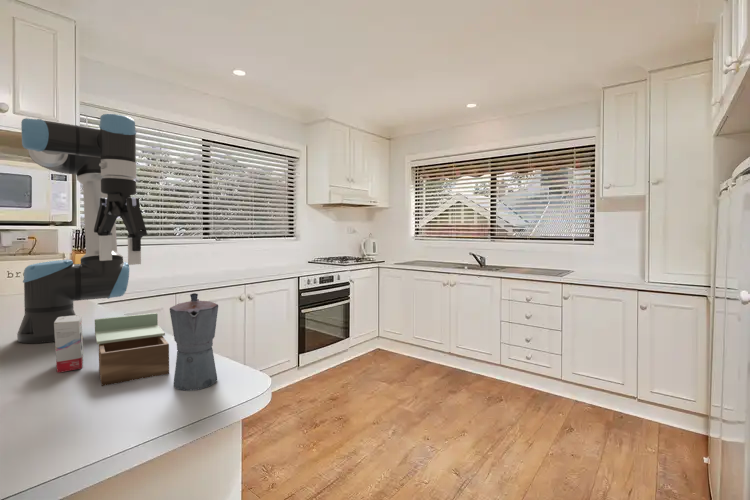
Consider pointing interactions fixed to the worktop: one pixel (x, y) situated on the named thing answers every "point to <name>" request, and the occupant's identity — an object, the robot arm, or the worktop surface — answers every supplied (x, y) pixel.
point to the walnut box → (133, 360)
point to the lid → (127, 328)
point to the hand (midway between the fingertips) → (119, 262)
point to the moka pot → (194, 343)
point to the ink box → (68, 343)
